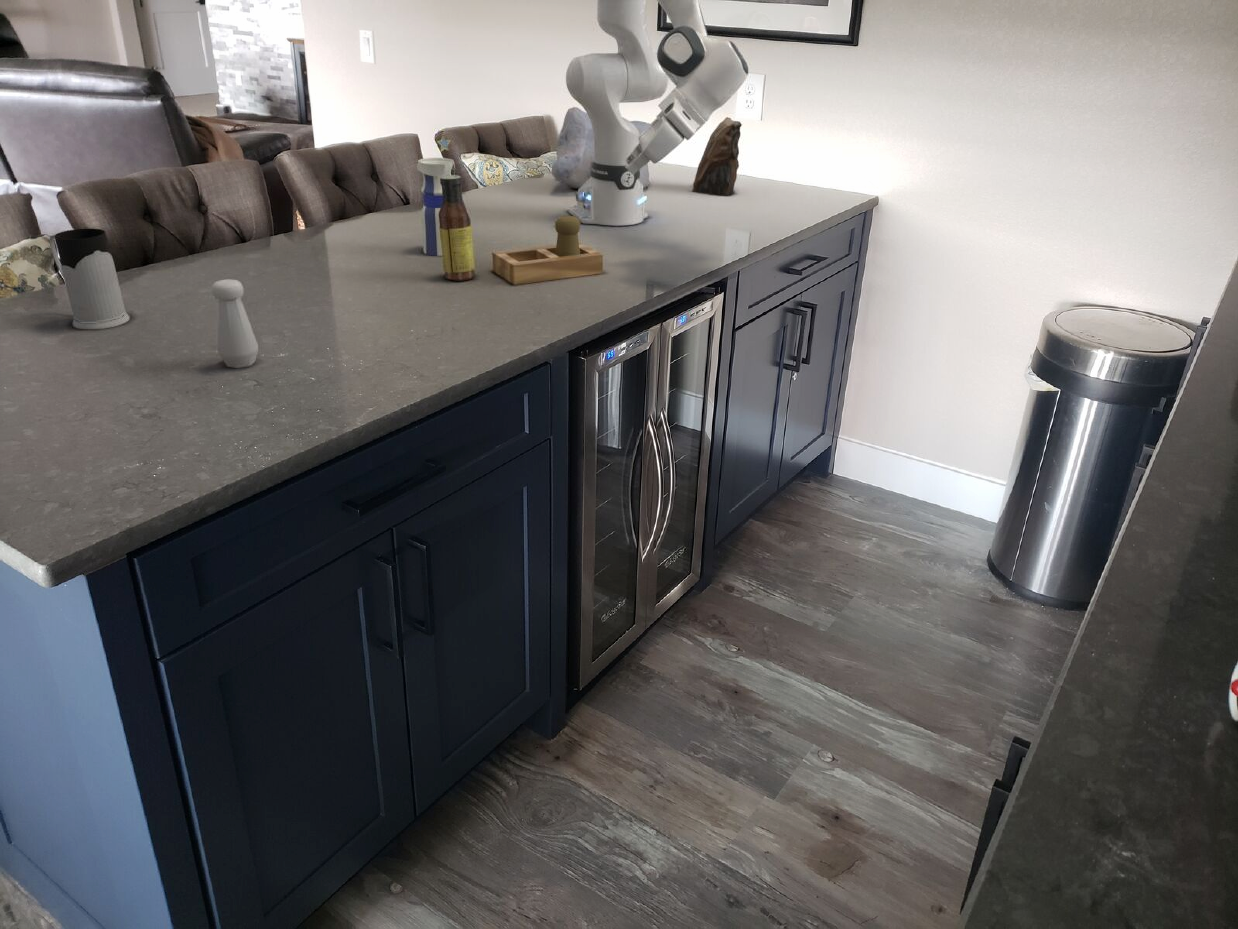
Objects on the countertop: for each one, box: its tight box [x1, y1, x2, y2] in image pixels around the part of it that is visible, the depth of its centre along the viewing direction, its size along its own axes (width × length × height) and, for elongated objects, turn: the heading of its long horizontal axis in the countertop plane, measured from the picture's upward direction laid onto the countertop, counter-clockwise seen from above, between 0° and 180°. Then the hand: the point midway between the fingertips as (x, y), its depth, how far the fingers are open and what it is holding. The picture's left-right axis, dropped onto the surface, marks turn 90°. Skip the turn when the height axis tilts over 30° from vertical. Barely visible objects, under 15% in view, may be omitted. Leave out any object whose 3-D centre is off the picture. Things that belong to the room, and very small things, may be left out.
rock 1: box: [551, 106, 651, 189], centre depth 268 cm, size 23×30×27 cm
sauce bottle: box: [439, 174, 476, 282], centre depth 183 cm, size 7×6×20 cm
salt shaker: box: [211, 278, 259, 369], centre depth 141 cm, size 6×6×13 cm
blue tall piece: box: [416, 135, 456, 257], centre depth 200 cm, size 8×9×25 cm
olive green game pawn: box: [554, 215, 581, 257], centre depth 192 cm, size 6×6×11 cm
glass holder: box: [49, 228, 131, 330], centre depth 157 cm, size 9×14×15 cm, turn 58°
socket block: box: [491, 242, 604, 286], centre depth 192 cm, size 11×20×4 cm, turn 119°
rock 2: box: [691, 116, 743, 197], centre depth 267 cm, size 13×13×20 cm
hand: (628, 167), depth 186 cm, fingers open, 8 cm apart
